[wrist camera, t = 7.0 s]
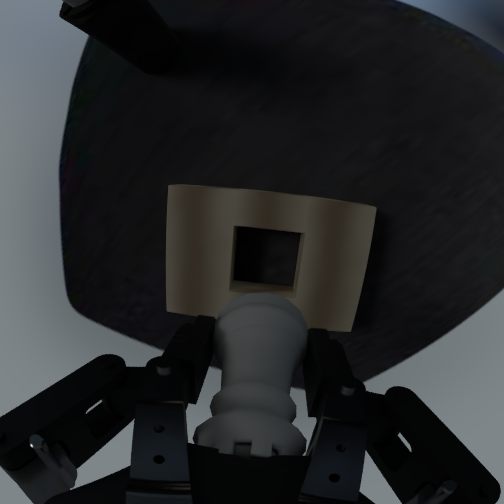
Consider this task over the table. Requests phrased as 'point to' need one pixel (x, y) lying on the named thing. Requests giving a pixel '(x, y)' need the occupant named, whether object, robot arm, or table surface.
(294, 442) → the rook chess piece
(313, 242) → the socket board
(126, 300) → the table surface
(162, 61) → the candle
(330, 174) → the table surface
